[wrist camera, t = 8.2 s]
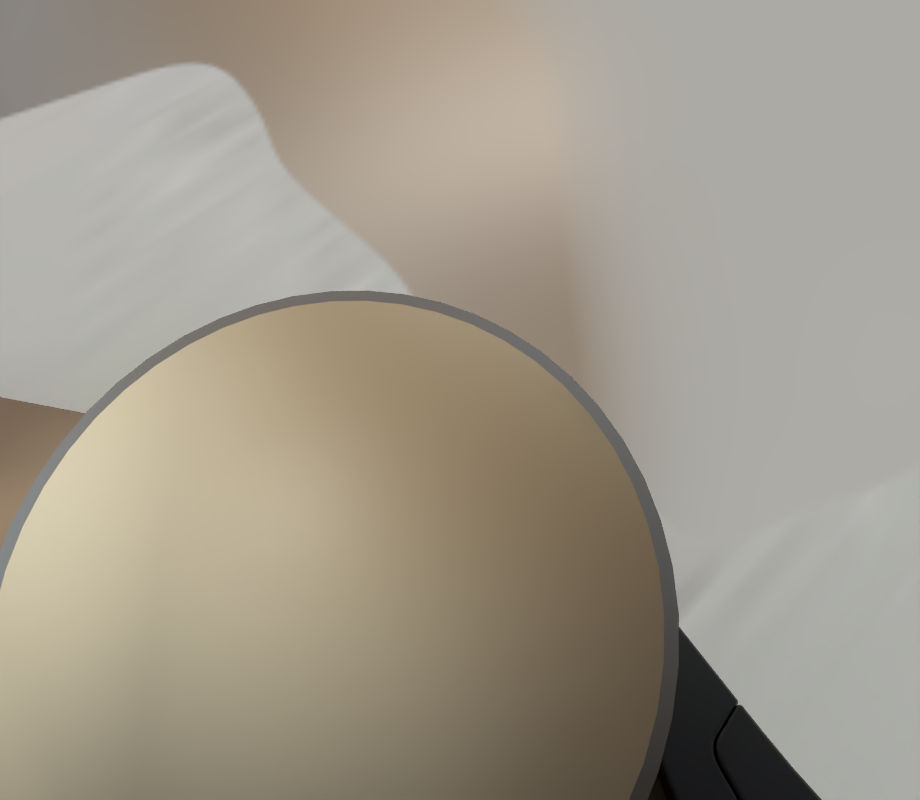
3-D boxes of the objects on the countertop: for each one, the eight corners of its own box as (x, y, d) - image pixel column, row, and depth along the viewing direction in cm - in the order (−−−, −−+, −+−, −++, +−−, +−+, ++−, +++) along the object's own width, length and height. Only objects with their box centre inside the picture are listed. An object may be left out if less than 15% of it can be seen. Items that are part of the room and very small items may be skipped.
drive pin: (438, 799, 12) (311, 1333, 3) (278, 628, 14) (-164, 626, 4) (583, 607, 14) (816, 556, 4) (424, 468, 15) (332, 196, 6)
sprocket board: (505, 1332, 12) (515, 1589, 8) (-427, 1021, 14) (-690, 1135, 11) (598, 522, 17) (625, 499, 14) (-74, 393, 19) (-180, 348, 16)
